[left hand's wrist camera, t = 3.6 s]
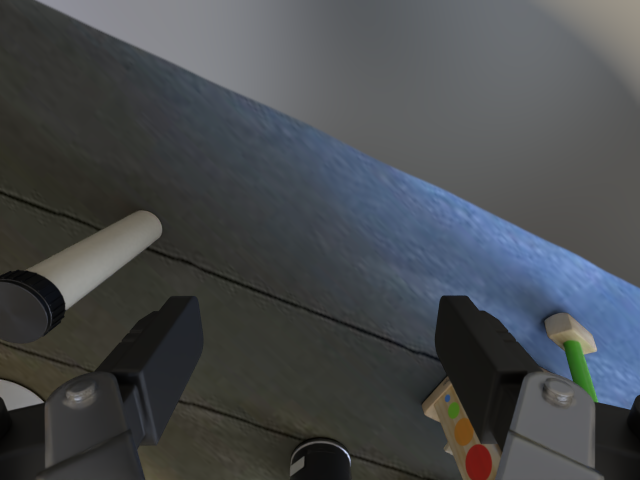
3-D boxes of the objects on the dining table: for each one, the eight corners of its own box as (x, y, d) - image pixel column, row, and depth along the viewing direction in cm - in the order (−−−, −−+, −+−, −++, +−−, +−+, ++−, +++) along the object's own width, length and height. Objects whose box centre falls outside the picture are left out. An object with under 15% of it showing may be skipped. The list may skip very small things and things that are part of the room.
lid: (21, 336, 26) (0, 351, 24) (-19, 279, 24) (-45, 291, 23) (79, 320, 26) (62, 335, 24) (42, 261, 24) (21, 272, 22)
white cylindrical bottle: (137, 246, 42) (7, 341, 25) (121, 215, 41) (-29, 292, 23) (168, 237, 42) (58, 327, 24) (153, 206, 40) (25, 276, 23)
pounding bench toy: (526, 286, 44) (656, 395, 27) (606, 335, 46) (770, 461, 29) (419, 406, 50) (468, 552, 34) (493, 442, 53) (574, 595, 36)
